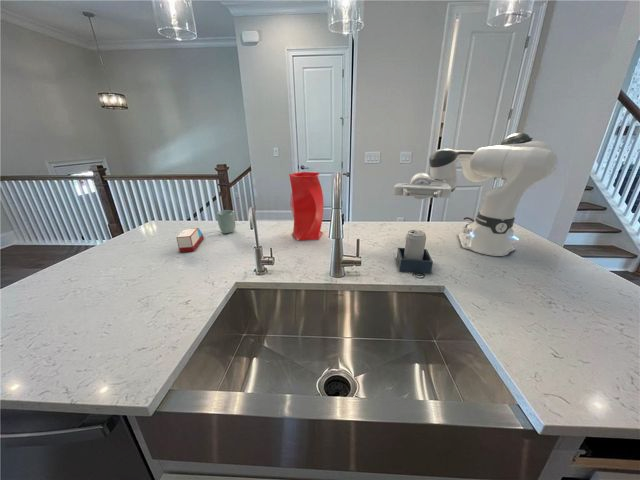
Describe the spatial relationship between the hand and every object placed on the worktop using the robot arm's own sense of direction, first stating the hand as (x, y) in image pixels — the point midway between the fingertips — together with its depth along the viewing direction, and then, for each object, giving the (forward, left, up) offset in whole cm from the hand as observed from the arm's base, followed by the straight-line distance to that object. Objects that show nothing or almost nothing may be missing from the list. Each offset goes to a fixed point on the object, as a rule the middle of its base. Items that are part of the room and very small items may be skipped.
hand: (421, 194), depth 92 cm
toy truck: (+3, -93, -24) cm, 96 cm away
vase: (-14, -45, -24) cm, 53 cm away
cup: (-14, -85, -24) cm, 89 cm away
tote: (+10, -2, -23) cm, 25 cm away
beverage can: (+10, -2, -23) cm, 25 cm away
